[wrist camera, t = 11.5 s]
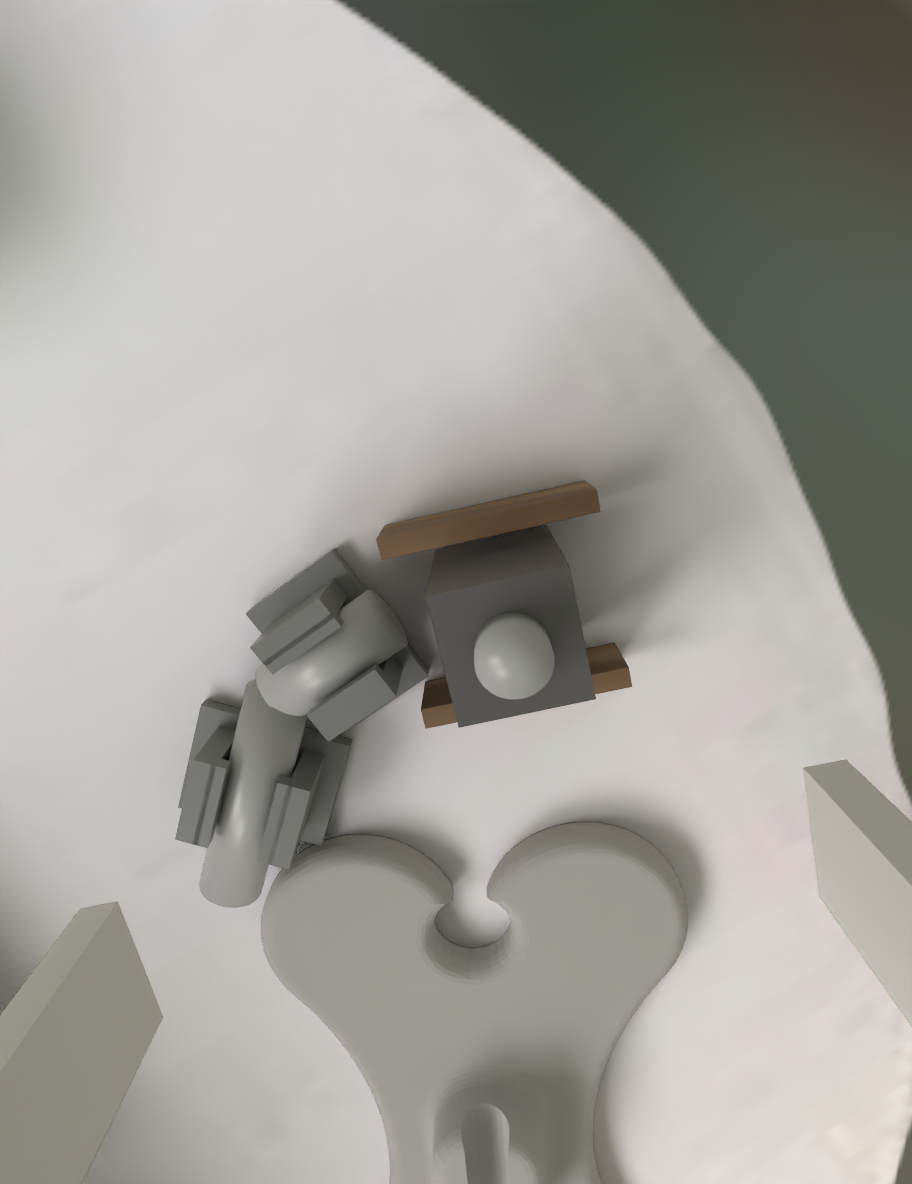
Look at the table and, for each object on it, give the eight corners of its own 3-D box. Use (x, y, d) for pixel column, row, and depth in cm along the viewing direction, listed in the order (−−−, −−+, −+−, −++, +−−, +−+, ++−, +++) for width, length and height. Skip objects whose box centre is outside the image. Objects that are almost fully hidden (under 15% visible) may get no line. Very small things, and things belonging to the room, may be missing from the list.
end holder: (618, 660, 31) (632, 686, 28) (429, 699, 31) (425, 728, 29) (584, 480, 29) (596, 489, 26) (385, 525, 30) (376, 538, 27)
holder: (679, 809, 33) (715, 880, 28) (678, 1349, 42) (705, 1474, 37) (255, 833, 34) (220, 906, 29) (341, 1358, 43) (325, 1482, 38)
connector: (546, 525, 30) (574, 574, 22) (568, 631, 31) (602, 714, 23) (435, 550, 30) (423, 607, 22) (461, 654, 31) (457, 744, 23)
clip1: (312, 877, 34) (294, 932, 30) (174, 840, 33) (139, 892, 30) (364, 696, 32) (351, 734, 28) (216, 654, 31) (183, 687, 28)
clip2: (336, 733, 32) (320, 774, 28) (240, 616, 31) (211, 645, 27) (438, 664, 31) (434, 699, 28) (344, 541, 30) (327, 561, 26)
